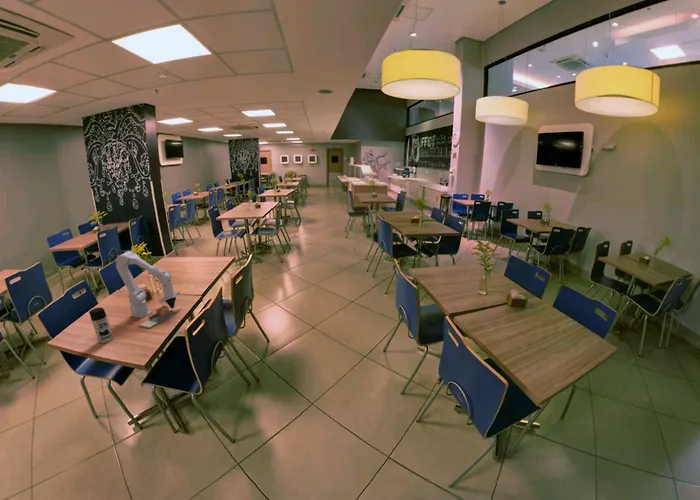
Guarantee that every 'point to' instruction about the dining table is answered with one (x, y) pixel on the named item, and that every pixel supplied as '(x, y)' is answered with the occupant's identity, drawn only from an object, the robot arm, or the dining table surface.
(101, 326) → the spray can
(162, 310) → the block
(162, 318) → the chute
